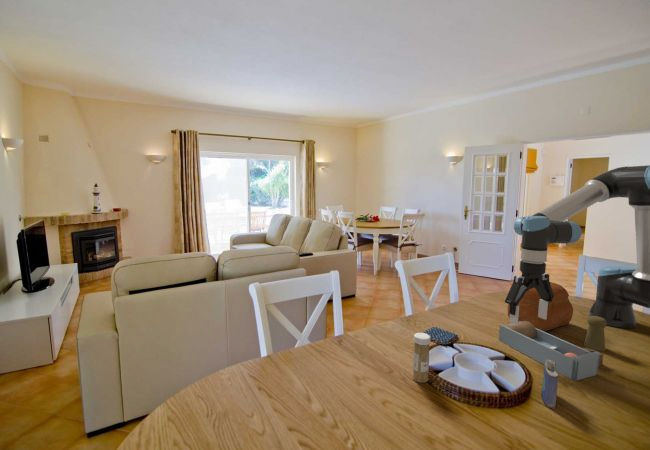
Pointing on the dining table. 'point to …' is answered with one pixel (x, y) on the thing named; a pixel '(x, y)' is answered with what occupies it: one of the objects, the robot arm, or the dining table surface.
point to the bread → (556, 312)
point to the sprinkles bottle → (421, 357)
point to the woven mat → (441, 335)
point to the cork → (595, 334)
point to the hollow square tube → (599, 358)
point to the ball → (571, 355)
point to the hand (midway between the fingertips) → (528, 320)
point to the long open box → (550, 350)
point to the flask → (549, 384)
